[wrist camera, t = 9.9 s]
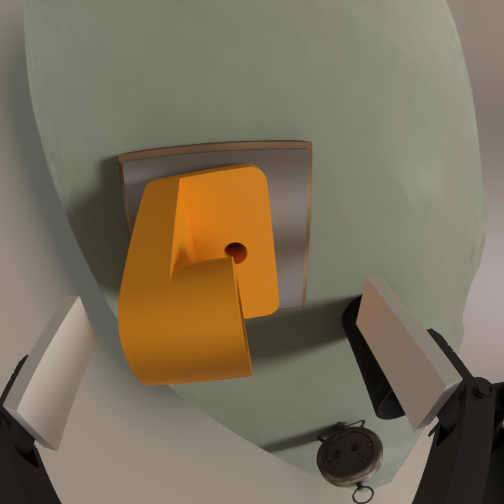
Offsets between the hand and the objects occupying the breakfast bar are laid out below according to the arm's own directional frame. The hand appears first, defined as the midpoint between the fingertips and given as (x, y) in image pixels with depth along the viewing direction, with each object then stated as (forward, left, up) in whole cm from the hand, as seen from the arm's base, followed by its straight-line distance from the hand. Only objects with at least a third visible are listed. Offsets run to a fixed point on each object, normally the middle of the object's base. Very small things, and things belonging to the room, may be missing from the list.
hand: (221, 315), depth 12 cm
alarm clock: (+37, +17, -13) cm, 43 cm away
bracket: (0, 0, -10) cm, 10 cm away
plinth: (0, 0, -13) cm, 13 cm away
